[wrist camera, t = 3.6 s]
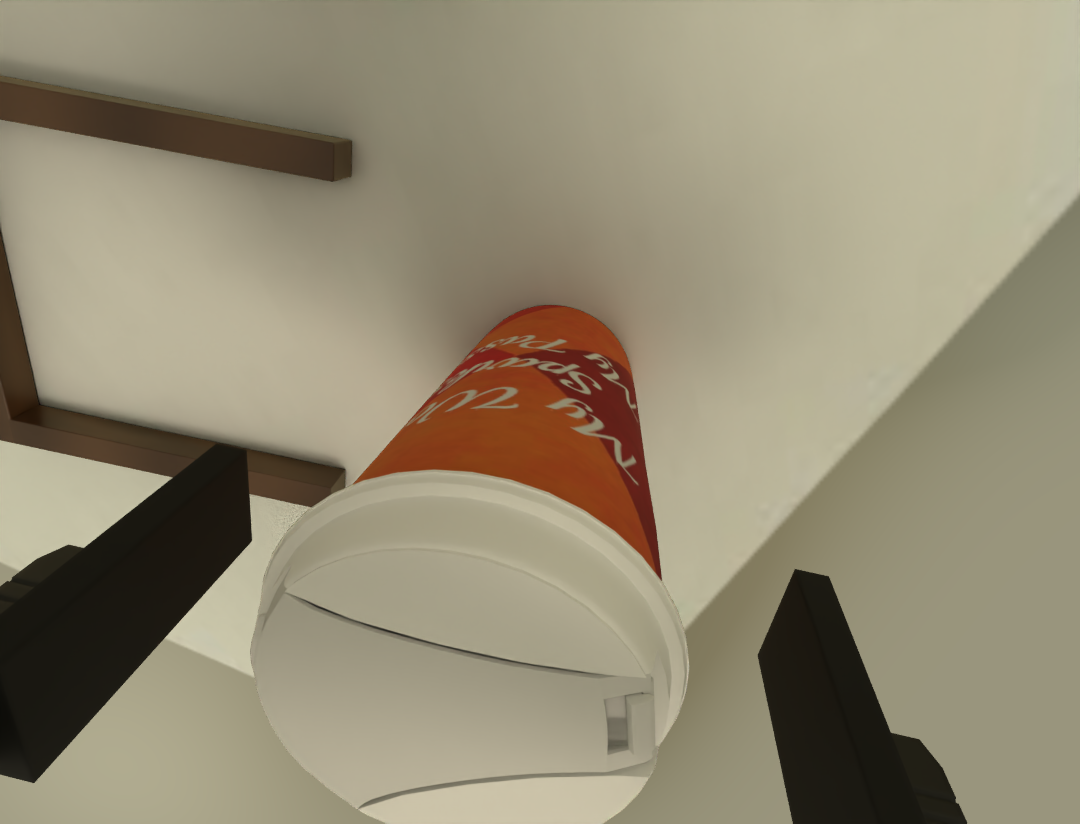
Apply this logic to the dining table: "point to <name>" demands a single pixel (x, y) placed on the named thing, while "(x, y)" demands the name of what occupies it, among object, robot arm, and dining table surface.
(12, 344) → the brown frame
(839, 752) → the robot arm
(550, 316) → the coffee cup
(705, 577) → the dining table surface
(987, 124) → the dining table surface
